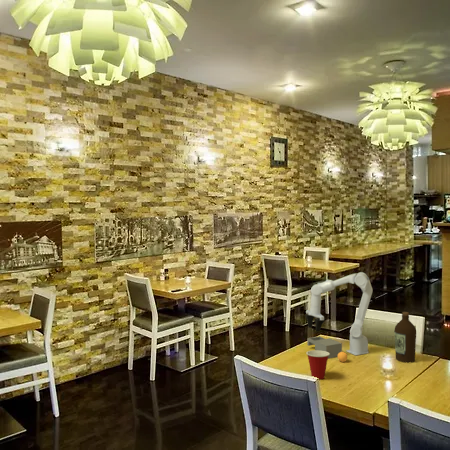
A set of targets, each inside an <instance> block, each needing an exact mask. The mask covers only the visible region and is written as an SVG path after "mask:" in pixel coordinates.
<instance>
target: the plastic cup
mask: <svg viewBox="0 0 450 450" xmlns="http://www.w3.org/2000/svg"><path fill="white" fill-rule="evenodd" d="M305 354H306V356H307V360H308V363H309V364H308V365H309V369H310V373H311V377H312V376H314V377H317V378H319V380H321V381H322V380H323V379H325V375H326V370H327V364H328V356H329V354H330V353H328V352H326V351H319V350H315V349H314V350H313V349H312V350H308V351H306V353H305ZM319 380H318V381H319Z"/></svg>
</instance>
